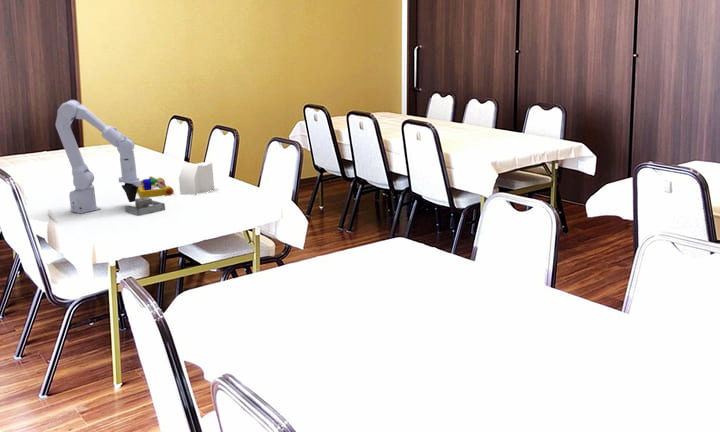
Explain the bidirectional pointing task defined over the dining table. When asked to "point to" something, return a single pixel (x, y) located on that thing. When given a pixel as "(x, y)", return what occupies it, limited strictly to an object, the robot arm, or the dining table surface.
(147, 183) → the multicolour toy assembly
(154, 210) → the bar
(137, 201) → the dice cube
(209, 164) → the white block
